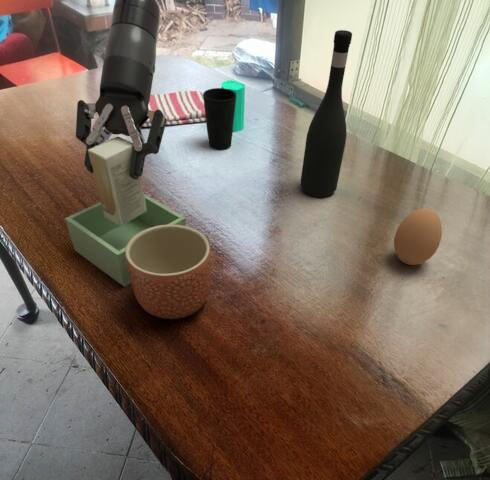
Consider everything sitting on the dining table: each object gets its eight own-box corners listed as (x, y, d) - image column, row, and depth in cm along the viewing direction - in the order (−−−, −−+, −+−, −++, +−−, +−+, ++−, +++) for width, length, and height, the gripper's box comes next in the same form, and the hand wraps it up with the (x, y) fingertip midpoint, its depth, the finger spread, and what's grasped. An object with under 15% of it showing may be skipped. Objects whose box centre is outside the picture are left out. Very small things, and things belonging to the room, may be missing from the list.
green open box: (124, 287, 76) (117, 255, 71) (74, 250, 82) (64, 218, 77) (188, 249, 84) (185, 217, 79) (137, 217, 90) (132, 186, 85)
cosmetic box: (131, 202, 81) (119, 134, 72) (148, 211, 79) (137, 143, 70) (102, 218, 77) (85, 148, 68) (119, 228, 75) (104, 158, 66)
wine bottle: (309, 176, 104) (332, 23, 82) (341, 186, 101) (373, 30, 79) (293, 191, 99) (313, 33, 77) (326, 202, 96) (356, 41, 74)
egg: (389, 272, 81) (407, 220, 73) (386, 246, 86) (402, 195, 78) (432, 277, 80) (455, 225, 73) (426, 251, 86) (447, 200, 78)
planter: (120, 300, 74) (107, 246, 66) (179, 267, 80) (174, 214, 72) (167, 342, 68) (159, 288, 60) (227, 303, 74) (227, 250, 66)
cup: (239, 140, 115) (240, 90, 106) (230, 154, 110) (230, 102, 101) (210, 136, 116) (209, 86, 107) (200, 149, 111) (198, 97, 102)
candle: (218, 123, 122) (218, 74, 113) (240, 121, 123) (241, 73, 114) (224, 132, 118) (224, 83, 109) (246, 130, 119) (248, 81, 110)
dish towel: (123, 105, 128) (121, 92, 125) (203, 97, 133) (202, 85, 131) (132, 130, 117) (130, 116, 114) (219, 121, 122) (219, 108, 120)
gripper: (73, 48, 67) (56, 161, 68) (166, 58, 65) (148, 173, 66) (96, 75, 74) (81, 176, 75) (180, 84, 73) (163, 188, 74)
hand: (112, 174), depth 71 cm, fingers closed on cosmetic box, 6 cm apart
